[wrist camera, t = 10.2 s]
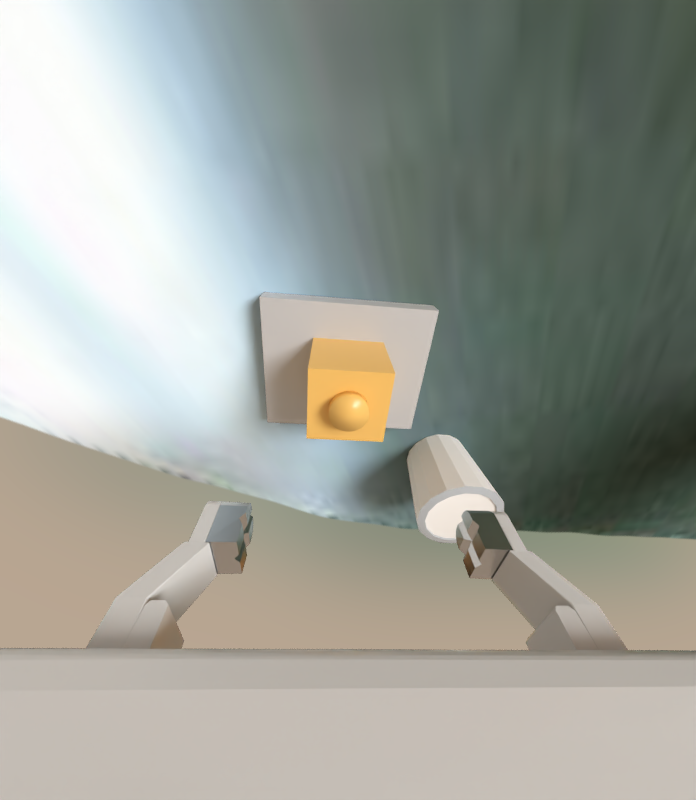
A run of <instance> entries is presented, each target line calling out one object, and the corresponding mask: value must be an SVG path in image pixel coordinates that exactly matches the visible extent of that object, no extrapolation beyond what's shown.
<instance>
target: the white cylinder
mask: <svg viewBox="0 0 696 800" xmlns="http://www.w3.org/2000/svg"><path fill="white" fill-rule="evenodd" d="M407 464H408V470H409V477H410V483H411V489H412V495H413V502H414V508H415V514H416V520H417V524H418V528H419V531H420V532H421V533H422V534H423V535H425V536H426V537H427V538H428V539H431V540H434V541H437V542H440V543H457V541H456V528H457V525H458V524H459V523H460V522H462V521H463V520H462V517H461V516H462V514H463V512H464V511H466V510H468V511H497V512H504V502H503V500H502V499H501V497H500V496H499V495H498V493H497V492H496V491H495V489H494V488H493V486H492V485H491V484H490V482H489V481H488V480H487V478H486V477H485V475H484V474H483V473H482V471H481V470H480V469H479V467H478V466H477V464H476V463H475V462H474V460H473V459H472V458H471V456H470V455H469V453H468V452H467V451H466V449H465V448H464V446H463V445H462V444H461V443H460V441H459V440H458V439H456V438H454V437H452V436H449V435H433V436H429V437H426V438H424V439H422V440H421V441H419V442H417V443H416V444H415V445H414V446H413V447H412V448H411V450H410V451H409V454H408V457H407Z"/></svg>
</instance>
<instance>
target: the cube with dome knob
mask: <svg viewBox="0 0 696 800" xmlns="http://www.w3.org/2000/svg"><path fill="white" fill-rule="evenodd" d="M394 379H395V371H394V368H393V366H392V363H391V361H390V358H389V355H388V353H387V350H386V347H385V345H384V342H370V341H356V340H341V339H327V338H313V342H312V348H311V354H310V359H309V365H308V391H307V438H310V439H333V440H356V441H378V442H383V439H384V433H385V428H386V422H387V417H388V412H389V406H390V401H391V395H392V390H393V385H394Z"/></svg>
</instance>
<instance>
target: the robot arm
mask: <svg viewBox="0 0 696 800" xmlns="http://www.w3.org/2000/svg"><path fill="white" fill-rule="evenodd" d="M251 511H252V507H251V503H238V502H237V503H236V502H220V501H208V502H207V503H206V505H205V506H204V509H203V511H202V513H201V515H200V518H199V519H198V522H197V524H196V526H195V528H194V530H193V533H192V535H191V537H190V540H189V541H188V542H183V543H182V544H181V545H180V546H178V547H177V548H176V549H175V550H173V551H172V552H171V553H170V554H168V555H167V556H166V557H165V558H164V559H162V560H161V561H160V562H159V563H157V564H156V565H155V566H154V567H152V568H151V569H150V570H149V571H148V572H146V573H145V574H144V575H143V576H141V577H140V578H139V579H138V580H136V581H135V582H134V583H133V584H132V585H130V586H129V587H128V588H127V589H125V590H124V591H123V592H122V593H121V594H119V595H118V596H117V597H116V598H115V599H114V601H113V602H112V604H111V606H110V608H109V609H108V611H107V613H106V614H105V616H104V618H103V620H102V621H101V623H100V625H99V627H98V628H97V630H96V632H95V634H94V635H93V637H92V638H91V640H90V642H89V644H88V645H87V647H86V648H83V649H82V648H0V800H696V651H668V650H660V651H658V650H657V651H655V650H652V651H651V650H645V651H644V650H637V651H636V650H628V649H627V648H626V646H625V645H624V643H623V642H622V640H621V639H620V637H619V636H618V634H617V633H616V631H615V630H614V629H613V627H612V625H611V624H610V622H609V621H608V619H607V618H606V616H605V615H604V613H603V612H602V610H601V609H600V607H599V606H598V605H597V604H596V603H595V602H594V601H592V600H591V599H590V598H589V597H587V596H586V595H585V594H584V593H583V592H581V591H580V590H579V589H578V588H576V587H575V586H574V585H573V584H571V583H570V582H569V581H568V580H566V579H565V578H564V577H563V576H562V575H560V574H559V573H558V572H556V571H555V570H554V569H553V568H552V567H550V566H549V565H548V564H547V563H545V562H544V561H543V560H542V559H541V558H539V557H538V556H537V555H536V554H534V553H533V552H532V551H527V549H526V547H525V546H524V544H523V542H522V540H521V539H520V537H519V535H518V534H517V531H516V530H515V528H514V526H513V524H512V523H511V521H510V519H509V517H508V516H507V514H506V513H505V512H497V511H468V510H466V511H464V512H463V514H462V516H461V517H462V520H463V521H462V522H460V523H459V524H458V525H457V528H456V541H457V544H458V547H459V549H460V550H461V551H462V552H463V553H464V554H465V557H464V560H463V561H464V564H465V567H466V570H467V572H468V575H469V577H470V578H479V579H492V581H493V583H494V584H495V585H496V586H497V587H498V588H499V589H500V590H501V592H502V593H503V594H504V595H505V596H506V597H507V598H508V599H509V601H510V602H511V603H512V604H513V605H514V606H515V607H516V609H517V610H518V611H519V612H520V613H521V614H522V615H523V616H524V618H525V619H526V620H527V621H528V622H529V623H530V624H531V626H532V627H533V628H534V629H535V630H534V632H533V633H532V634H531V635H530V636H529V637H528V639H527V641H526V644H527V646H528V649H529V650H405V649H398V650H397V649H396V650H395V649H393V650H392V649H181V648H182V645H183V642H184V640H183V637H182V635H181V633H180V630H179V628H178V626H177V623H176V622H177V620H178V619H179V618H180V617H181V616H182V615H183V614H184V613H185V611H186V610H187V609H188V608H189V607H190V606H191V604H192V603H193V602H194V601H195V600H196V599H197V598H198V597H199V595H200V594H201V593H202V592H203V591H204V590H205V588H206V587H207V586H208V585H209V584H210V583H211V582H212V581H213V579H214V578H215V577H216V576H217V574H221V573H222V574H225V573H226V574H228V573H229V574H230V573H231V574H233V573H242V571H243V567H244V564H245V560H246V556H247V553H246V547H247V546H248V545H249V544H250V541H251V537H252V532H253V517H252V516H251V515H250V514H251Z"/></svg>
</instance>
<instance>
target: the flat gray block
mask: <svg viewBox="0 0 696 800" xmlns="http://www.w3.org/2000/svg"><path fill="white" fill-rule="evenodd" d="M259 298H260V314H261V329H262V345H263V360H264V376H265V391H266V407H267V422H275V423H296V424H307V391H308V365H309V359H310V354H311V348H312V342H313V338H327V339H341V340H356V341H370V342H384V345H385V347H386V350H387V353H388V355H389V358H390V361H391V363H392V366H393V368H394V371H395V379H394V385H393V390H392V395H391V401H390V406H389V412H388V417H387V422H386V428H402V429H411V426H412V422H413V417H414V413H415V409H416V405H417V401H418V396H419V392H420V388H421V384H422V380H423V375H424V371H425V367H426V363H427V359H428V354H429V350H430V346H431V342H432V338H433V333H434V329H435V325H436V321H437V317H438V312H439V311H438V310H437V309H436V308H435V307H434V306H433V305H423V304H410V303H397V302H384V301H372V300H359V299H346V298H334V297H321V296H308V295H296V294H283V293H270V292H264V293H263V294H262V295H261V296H260V297H259Z"/></svg>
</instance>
